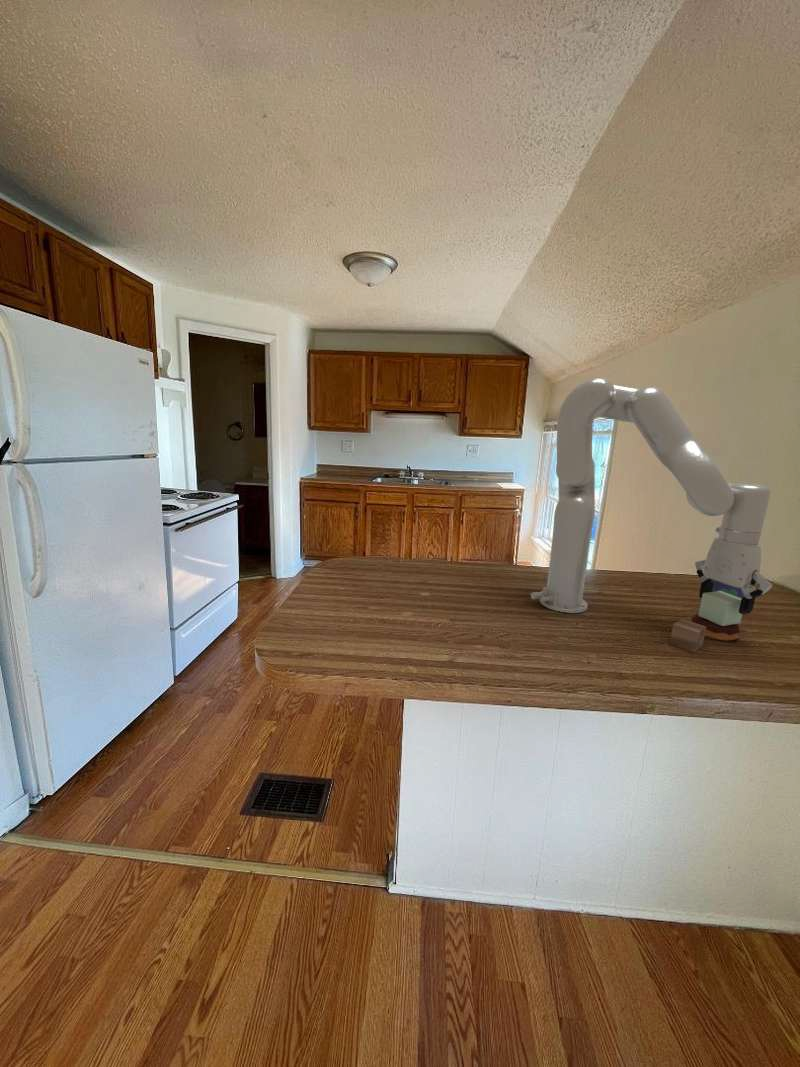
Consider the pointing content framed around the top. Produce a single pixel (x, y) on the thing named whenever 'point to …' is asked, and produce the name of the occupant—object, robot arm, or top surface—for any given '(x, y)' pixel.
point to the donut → (717, 629)
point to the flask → (727, 589)
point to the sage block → (720, 608)
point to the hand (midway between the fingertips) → (723, 604)
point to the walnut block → (687, 635)
